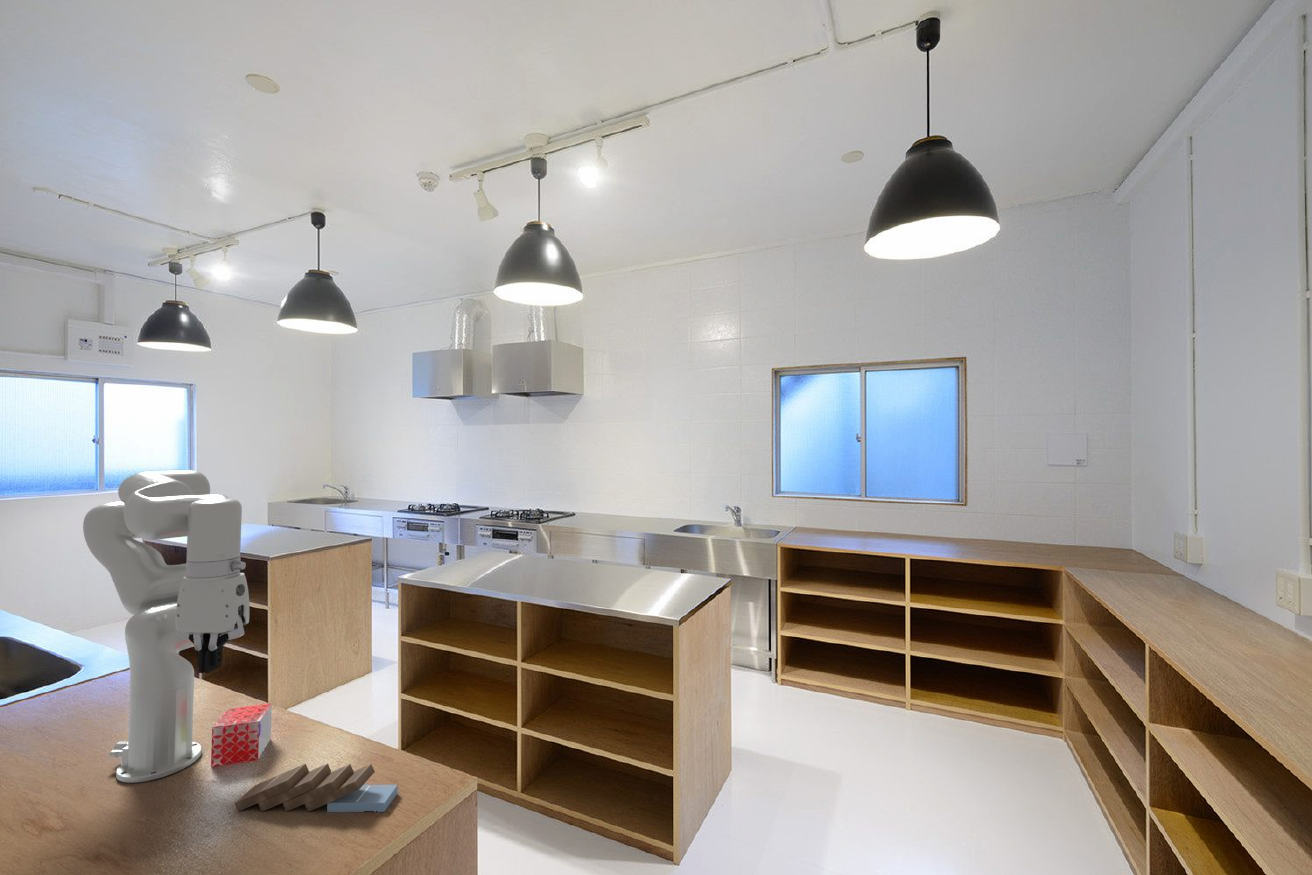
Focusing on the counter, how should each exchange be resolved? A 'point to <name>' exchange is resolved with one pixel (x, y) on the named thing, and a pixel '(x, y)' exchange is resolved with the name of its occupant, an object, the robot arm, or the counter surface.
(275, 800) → the domino
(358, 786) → the domino
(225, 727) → the red patterned cube
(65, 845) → the counter surface
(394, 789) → the domino
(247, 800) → the domino
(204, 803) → the counter surface
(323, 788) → the domino
